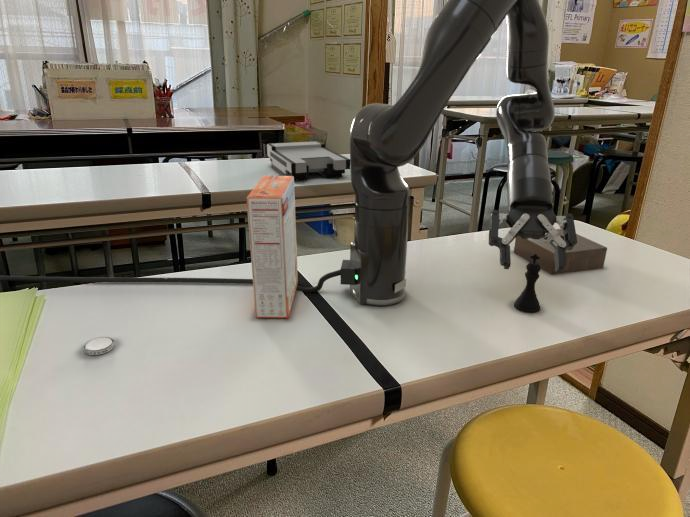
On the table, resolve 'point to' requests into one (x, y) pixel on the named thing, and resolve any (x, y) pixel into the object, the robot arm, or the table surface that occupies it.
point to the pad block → (577, 259)
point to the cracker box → (273, 245)
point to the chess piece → (529, 289)
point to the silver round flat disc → (99, 345)
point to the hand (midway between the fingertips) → (533, 269)
